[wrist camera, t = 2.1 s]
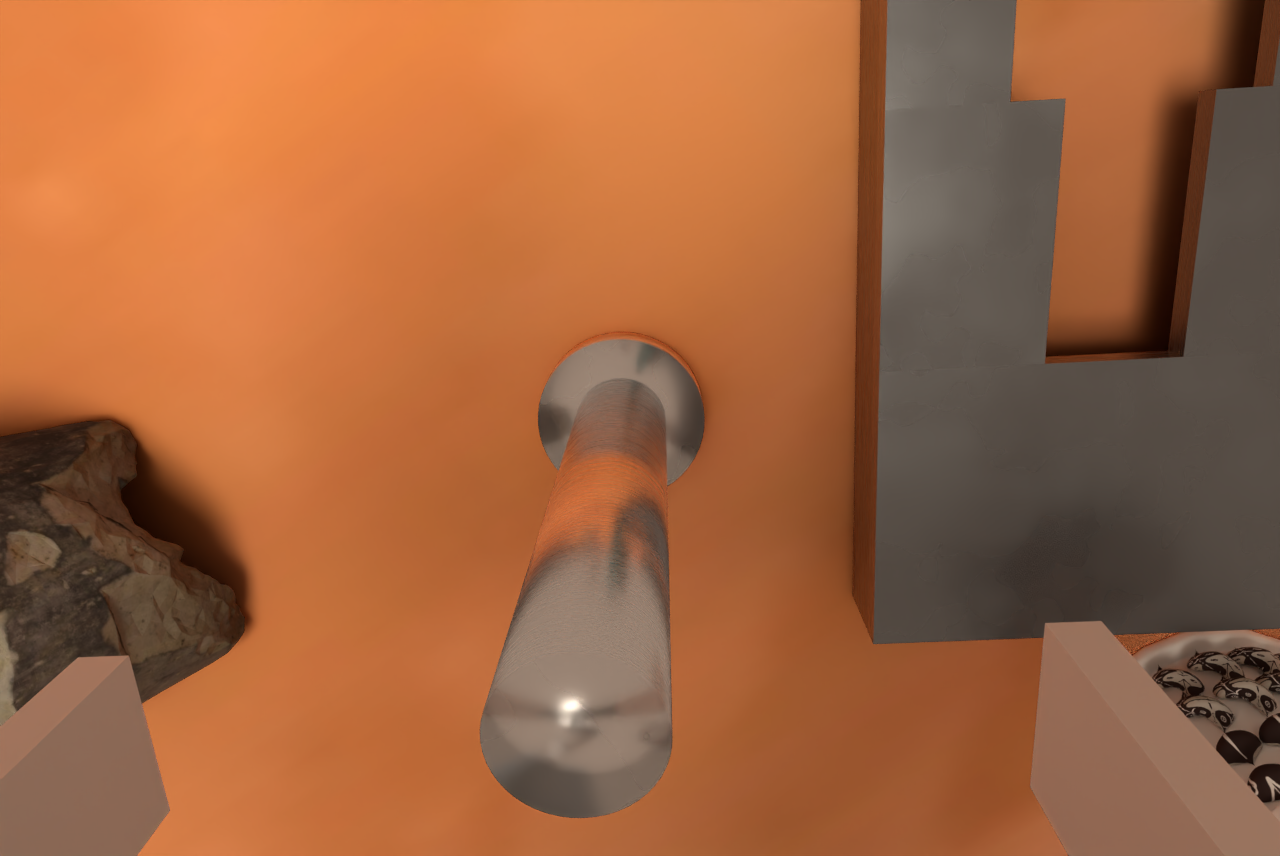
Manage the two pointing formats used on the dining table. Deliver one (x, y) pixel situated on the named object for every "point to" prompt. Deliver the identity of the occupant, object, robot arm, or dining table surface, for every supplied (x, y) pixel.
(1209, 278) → the keyhole plate
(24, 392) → the dining table surface
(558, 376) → the steel peg
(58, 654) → the fossil
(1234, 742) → the decorative candle
